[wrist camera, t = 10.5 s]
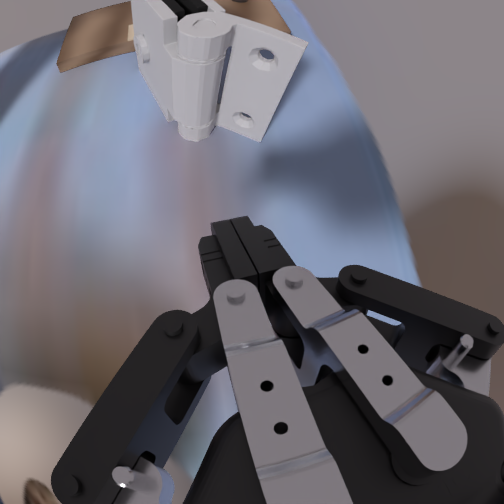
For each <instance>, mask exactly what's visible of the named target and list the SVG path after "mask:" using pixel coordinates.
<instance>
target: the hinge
mask: <svg viewBox="0 0 504 504" xmlns="http://www.w3.org/2000/svg"><path fill="white" fill-rule="evenodd" d="M131 8H132V18H133V28H134V38H133V40H134V47H135V51H136V54H137V59H138V66H139V71H140V72H141V74H142V76H143V78H144V80H145V82H146V83H147V85H148V87H149V89H150V91H151V92H152V94H153V96H154V98H155V100H156V101H157V103H158V105H159V107H160V109H161V110H162V112H163V114H164V116H165V118H166V119H167V121H168V123H169V122H171V121H174V120H176V121H178V132H179V133H180V135H181V136H182V137H183V138H184V139H186V140H190V141H196V142H197V141H200V140H203V139H205V138H208V137H209V135H210V134H211V132H212V130H213V128H214V126H221V127H223V128H226V129H228V130H231V131H233V132H236V133H238V134H241V135H243V136H245V137H248V138H250V139H252V140H255V141H257V142H259V143H261V141H262V138H263V136H264V134H265V132H266V130H267V128H268V126H269V123H270V121H271V119H272V117H273V115H274V113H275V111H276V108H277V106H278V104H279V102H280V100H281V98H282V96H283V94H284V92H285V90H286V87H287V85H288V83H289V81H290V79H291V77H292V75H293V73H294V71H295V69H296V67H297V65H298V63H299V61H300V59H301V57H302V55H303V53H304V51H305V49H306V47H307V45H308V42H306V41H304V40H302V39H299V38H297V37H295V36H292V35H290V34H287V33H285V32H282V31H280V30H277V29H274V28H272V27H269V26H266V25H263V24H260V23H257V22H254V21H251V20H248V19H245V18H241V17H238V16H234V15H231V14H227V13H225V11H226V10H225V9H223V8H222V7H221V6H220V5H219V4H218V3H216V2H215V1H214V0H131ZM230 46H232V49H231V54H230V58H229V63H228V68H227V73H226V78H225V83H224V88H223V93H222V99H221V104H218V103H217V100H218V94H219V88H220V82H221V76H222V71H223V65H224V60H225V55H226V51H227V49H228V47H230ZM264 49H265V50H268V51H271V53H272V54H273V55H274V59H266V58H264V57H262V56H261V54H260V50H264ZM241 112H243V113H245V114H248V115H249V116H251V118H248V117H245V116H244V115H243V114H242V113H241Z"/></svg>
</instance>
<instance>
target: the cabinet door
mask: <svg viewBox="0 0 504 504" xmlns="http://www.w3.org/2000/svg"><path fill="white" fill-rule="evenodd" d="M214 1H215V2H216V3H218V4H219V5H220V6H221V7H222V8H223V9H225V10H226V11H225V13H227V14H231V15H234V16H238V17H241V18H245V19H248V20H251V21H254V22H257V23H260V24H263V25H266V26H269V27H272V28H274V29H277V30H280V31H282V32H285V33H287V34H290V33H291V31H290V29H289V28H288V26H287V25H286V23H285V22H284V20H283V18H282V17H281V15H280V14H279V12H278V11H277V9H276V8H275V6H274V5H273V3H272V2H271V1H270V0H214ZM133 38H134V28H133V18H132V8H131V1H129V2H124V3H120V4H116V5H112V6H108V7H105V8H101V9H97V10H94V11H90V12H87V13H84V14H81V15H78V16H75V17H73V19H72V21H71V23H70V26H69V28H68V31H67V33H66V36H65V39H64V42H63V45H62V47H61V50H60V54H59V57H58V60H57V63H56V64H57V66H58V68H59V70H60V73H61V72H64V71H67V70H69V69H72V68H75V67H78V66H81V65H84V64H87V63H91V62H94V61H97V60H101V59H104V58H108V57H112V56H116V55H120V54H124V53H129V52H133V51H135V47H134V40H133Z"/></svg>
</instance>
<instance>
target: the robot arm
mask: <svg viewBox="0 0 504 504" xmlns="http://www.w3.org/2000/svg"><path fill="white" fill-rule="evenodd" d="M211 231H212V235H211V236H206V237H202V238H201V239H200V242H199V245H198V248H199V254H200V259H201V265H202V270H203V275H204V279H205V282H206V285H207V289H208V292H209V295H210V300H209V301H208V303H207V304H206V305H205V306H204V307H203V308H202V309H200V310H198V311H197V312H195V313H193V314H190V313H188V312H186V311H182V310H172V311H168V312H165V313H163V314H162V315H160V316H159V317H158V318H156V320H155V321H154V322H153V323H152V325H151V326H150V328H149V329H148V330H147V332H146V333H145V334H144V336H143V337H142V338H141V340H140V341H139V343H138V344H137V345H136V347H135V348H134V350H133V351H132V352H131V354H130V355H129V357H128V358H127V359H126V361H125V362H124V364H123V365H122V367H121V368H120V369H119V371H118V372H117V374H116V375H115V377H114V378H113V379H112V381H111V382H110V384H109V385H108V387H107V388H106V390H105V391H104V392H103V394H102V395H101V397H100V398H99V400H98V401H97V403H96V404H95V406H94V407H93V409H92V410H91V412H90V413H89V415H88V416H87V418H86V419H85V421H84V422H83V424H82V426H81V427H80V429H79V430H78V432H77V433H76V435H75V436H74V438H73V439H72V441H71V442H70V444H69V446H68V447H67V449H66V450H65V452H64V454H63V455H62V457H61V458H60V460H59V462H58V463H57V465H56V466H55V468H54V470H53V472H52V476H51V485H52V489H53V492H54V494H55V496H56V497H57V499H58V500H59V501H60V502H61V503H62V504H172V503H171V500H172V496H173V493H174V482H173V479H172V478H171V476H170V474H169V473H168V472H167V471H166V470H165V469H163V467H164V465H165V464H166V462H167V460H168V458H169V456H170V454H171V453H172V451H173V449H174V447H175V445H176V443H177V442H178V440H179V438H180V436H181V434H182V432H183V431H184V429H185V427H186V425H187V423H188V421H189V419H190V417H191V416H192V414H193V412H194V410H195V408H196V406H197V404H198V402H199V400H200V399H201V397H202V395H203V393H204V391H205V389H206V387H207V385H208V383H209V381H210V379H211V375H213V374H214V373H216V372H218V371H219V370H221V369H222V368H224V367H226V366H227V367H228V371H229V375H230V380H231V384H232V388H233V392H234V396H235V400H236V404H237V408H238V412H237V413H235V414H234V415H233V416H231V417H230V418H229V419H228V420H227V421H226V422H225V423H223V425H222V426H221V427H220V428H219V429H218V431H217V432H216V434H215V435H214V437H213V439H212V441H211V443H210V445H209V448H208V450H207V452H206V454H205V457H204V459H203V461H202V463H201V466H200V468H199V470H198V472H197V474H196V477H195V479H194V481H193V483H192V485H191V487H190V490H189V492H188V494H187V496H186V498H185V500H184V502H183V504H504V415H503V412H502V410H501V408H500V407H499V405H498V404H497V403H496V402H495V401H494V400H493V399H491V398H490V397H488V396H489V384H490V371H491V370H490V369H491V358H492V356H493V355H494V354H495V353H496V352H497V350H498V349H499V348H500V347H501V346H502V344H503V343H504V325H503V324H502V322H501V321H500V320H499V319H498V318H497V317H495V316H493V315H490V314H488V313H485V312H483V311H480V310H478V309H475V308H473V307H471V306H468V305H465V304H463V303H460V302H458V301H455V300H453V299H450V298H447V297H445V296H442V295H439V294H437V293H434V292H432V291H429V290H426V289H424V288H421V287H418V286H416V285H413V284H410V283H408V282H405V281H402V280H399V279H397V278H394V277H391V276H388V275H386V274H383V273H380V272H377V271H375V270H372V269H369V268H366V267H363V266H360V265H349V266H346V267H344V268H342V269H341V271H340V272H339V276H338V277H337V278H317V277H315V276H314V275H313V274H312V273H311V272H310V271H309V270H307V269H305V268H303V267H299V266H296V265H295V263H294V262H293V260H292V259H291V258H290V256H289V255H288V253H287V252H286V251H285V249H284V248H283V246H282V245H281V244H280V242H279V241H278V239H276V237H275V235H274V234H273V232H272V231H271V230H269V229H268V228H266V227H264V226H263V225H259V226H254V225H253V224H252V222H251V220H250V219H249V217H248V216H243V217H238V218H233V219H229V220H223V221H218V222H213V223H211ZM368 310H371V311H373V312H376V313H379V314H381V315H384V316H386V317H389V318H392V319H394V320H397V321H399V322H401V324H400V325H396V326H395V325H391V324H388V323H386V322H383V321H380V320H378V319H375V318H373V317H370V316H367V312H368ZM270 323H271V324H270Z"/></svg>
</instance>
